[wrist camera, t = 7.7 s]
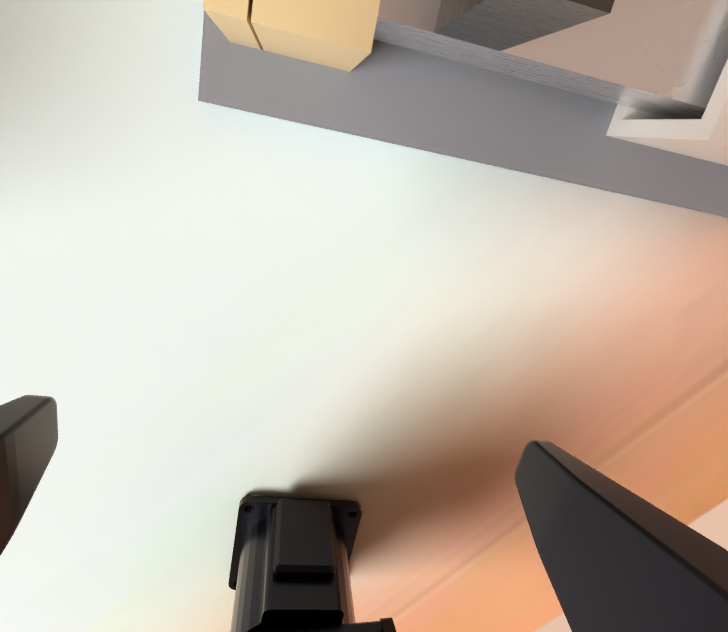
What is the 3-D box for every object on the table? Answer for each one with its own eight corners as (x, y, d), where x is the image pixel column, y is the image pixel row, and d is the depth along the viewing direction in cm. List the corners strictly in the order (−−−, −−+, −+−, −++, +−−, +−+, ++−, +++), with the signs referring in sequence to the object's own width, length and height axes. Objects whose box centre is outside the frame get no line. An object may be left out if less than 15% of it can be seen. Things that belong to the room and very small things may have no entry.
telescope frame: (813, 235, 23) (977, 272, 17) (203, 101, 17) (159, 92, 11) (929, 29, 20) (1175, -6, 14) (226, -225, 14) (181, -454, 8)
